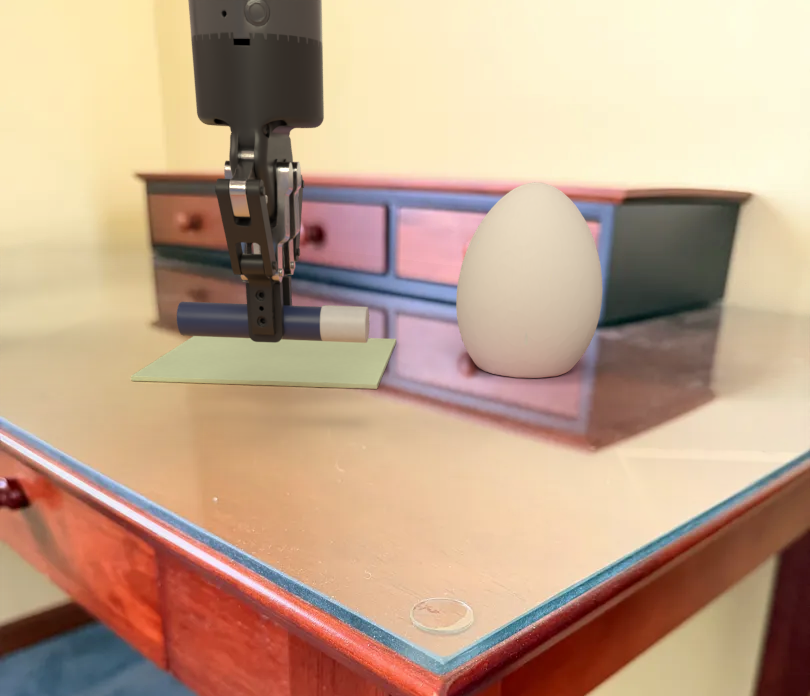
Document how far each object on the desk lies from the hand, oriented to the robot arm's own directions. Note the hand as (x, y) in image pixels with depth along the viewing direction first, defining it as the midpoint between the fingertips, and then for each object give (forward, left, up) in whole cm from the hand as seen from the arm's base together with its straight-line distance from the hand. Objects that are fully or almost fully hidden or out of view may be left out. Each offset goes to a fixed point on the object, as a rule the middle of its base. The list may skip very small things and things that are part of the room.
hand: (271, 335), depth 55 cm
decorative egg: (+18, +18, -6) cm, 26 cm away
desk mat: (-4, +18, -6) cm, 19 cm away
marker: (0, 0, 0) cm, 0 cm away
